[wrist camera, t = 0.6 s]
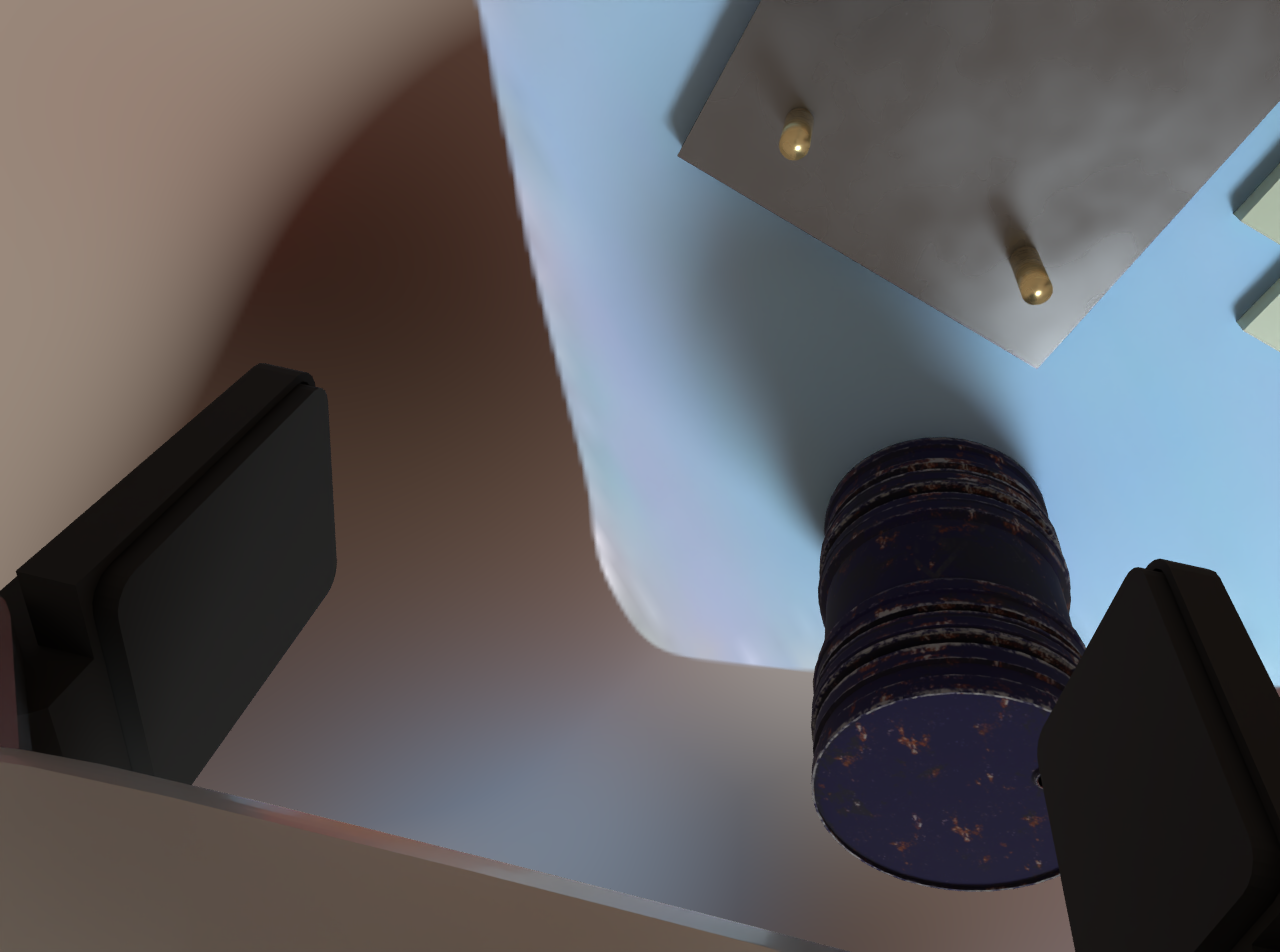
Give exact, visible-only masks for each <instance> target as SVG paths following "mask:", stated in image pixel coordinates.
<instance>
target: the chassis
mask: <svg viewBox="0 0 1280 952" xmlns="http://www.w3.org/2000/svg"><path fill="white" fill-rule="evenodd" d="M1279 101H1280V0H761V2H760V3H759V5H758V7H757V9H756V11H755V13H754V15H753V16H752V18H751V20H750V22H749V24H748V26H747V28H746V29H745V31H744V33H743V35H742V37H741V39H740V41H739V42H738V44H737V46H736V48H735V50H734V52H733V54H732V55H731V57H730V59H729V61H728V63H727V65H726V67H725V68H724V70H723V72H722V74H721V76H720V78H719V80H718V81H717V83H716V85H715V87H714V89H713V91H712V92H711V94H710V96H709V98H708V100H707V102H706V104H705V105H704V107H703V109H702V111H701V113H700V115H699V117H698V118H697V120H696V122H695V124H694V126H693V128H692V130H691V131H690V133H689V135H688V137H687V139H686V141H685V143H684V144H683V146H682V148H681V150H680V152H679V154H678V157H680V158H682V159H683V160H685V161H687V162H688V163H690V164H692V165H693V166H695V167H697V168H698V169H700V170H702V171H704V172H705V173H707V174H709V175H710V176H712V177H714V178H715V179H717V180H719V181H720V182H722V183H724V184H725V185H727V186H729V187H731V188H732V189H734V190H736V191H737V192H739V193H741V194H742V195H744V196H746V197H747V198H749V199H751V200H753V201H754V202H756V203H758V204H759V205H761V206H763V207H764V208H766V209H768V210H769V211H771V212H773V213H774V214H776V215H778V216H780V217H781V218H783V219H785V220H786V221H788V222H790V223H791V224H793V225H795V226H796V227H798V228H800V229H801V230H803V231H805V232H807V233H808V234H810V235H812V236H813V237H815V238H817V239H818V240H820V241H822V242H823V243H825V244H827V245H828V246H830V247H832V248H834V249H835V250H837V251H839V252H840V253H842V254H844V255H845V256H847V257H849V258H850V259H852V260H854V261H855V262H857V263H859V264H861V265H862V266H864V267H866V268H867V269H869V270H871V271H872V272H874V273H876V274H877V275H879V276H881V277H882V278H884V279H886V280H888V281H889V282H891V283H893V284H894V285H896V286H898V287H899V288H901V289H903V290H904V291H906V292H908V293H909V294H911V295H913V296H915V297H916V298H918V299H920V300H921V301H923V302H925V303H926V304H928V305H930V306H931V307H933V308H935V309H936V310H938V311H940V312H942V313H943V314H945V315H947V316H948V317H950V318H952V319H953V320H955V321H957V322H958V323H960V324H962V325H963V326H965V327H967V328H969V329H970V330H972V331H974V332H975V333H977V334H979V335H980V336H982V337H984V338H985V339H987V340H989V341H990V342H992V343H994V344H996V345H997V346H999V347H1001V348H1002V349H1004V350H1006V351H1007V352H1009V353H1011V354H1012V355H1014V356H1016V357H1017V358H1019V359H1021V360H1023V361H1024V362H1026V363H1028V364H1029V365H1031V366H1033V367H1034V368H1036V369H1038V367H1039V366H1040V365H1041V364H1042V363H1043V362H1044V361H1045V360H1046V359H1047V358H1048V356H1049V355H1050V354H1051V353H1052V352H1053V351H1054V350H1055V349H1056V348H1057V346H1058V345H1059V344H1060V343H1061V342H1062V341H1063V340H1064V339H1065V338H1066V337H1067V335H1068V334H1069V333H1070V332H1071V331H1072V330H1073V329H1074V328H1075V327H1076V325H1077V324H1078V323H1079V322H1080V321H1081V320H1082V319H1083V318H1084V317H1085V316H1086V314H1087V313H1088V312H1089V311H1090V310H1091V309H1092V308H1093V307H1094V306H1095V304H1096V303H1097V302H1098V301H1099V300H1100V299H1101V298H1102V297H1103V296H1104V295H1105V293H1106V292H1107V291H1108V290H1109V289H1110V288H1111V287H1112V286H1113V285H1114V283H1115V282H1116V281H1117V280H1118V279H1119V278H1120V277H1121V276H1122V275H1123V274H1124V272H1125V271H1126V270H1127V269H1128V268H1129V267H1130V266H1131V265H1132V264H1133V262H1134V261H1135V260H1136V259H1137V258H1138V257H1139V256H1140V255H1141V254H1142V253H1143V251H1144V250H1145V249H1146V248H1147V247H1148V246H1149V245H1150V244H1151V243H1152V241H1153V240H1154V239H1155V238H1156V237H1157V236H1158V235H1159V234H1160V233H1161V231H1162V230H1163V229H1164V228H1165V227H1166V226H1167V225H1168V224H1169V223H1170V222H1171V220H1172V219H1173V218H1174V217H1175V216H1176V215H1177V214H1178V213H1179V212H1180V210H1181V209H1182V208H1183V207H1184V206H1185V205H1186V204H1187V203H1188V202H1189V201H1190V199H1191V198H1192V197H1193V196H1194V195H1195V194H1196V193H1197V192H1198V191H1199V189H1200V188H1201V187H1202V186H1203V185H1204V184H1205V183H1206V182H1207V181H1208V180H1209V178H1210V177H1211V176H1212V175H1213V174H1214V173H1215V172H1216V171H1217V170H1218V168H1219V167H1220V166H1221V165H1222V164H1223V163H1224V162H1225V161H1226V160H1227V159H1228V157H1229V156H1230V155H1231V154H1232V153H1233V152H1234V151H1235V150H1236V149H1237V147H1238V146H1239V145H1240V144H1241V143H1242V142H1243V141H1244V140H1245V139H1246V138H1247V136H1248V135H1249V134H1250V133H1251V132H1252V131H1253V130H1254V129H1255V128H1256V126H1257V125H1258V124H1259V123H1260V122H1261V121H1262V120H1263V119H1264V118H1265V117H1266V115H1267V114H1268V113H1269V112H1270V111H1271V110H1272V109H1273V108H1274V107H1275V105H1276V104H1277V103H1278V102H1279Z"/></svg>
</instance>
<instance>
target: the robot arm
mask: <svg viewBox="0 0 1280 952" xmlns="http://www.w3.org/2000/svg"><path fill="white" fill-rule="evenodd" d="M328 413H329V412H328V399H327V394H326V392H325V390H323V389H322V388H318V387H315V382H314V380H313V377H312V376H311V375H310V374H309V373H307V372H302V371H298V370H293V369H288V368H284V367H279V366H274V365H270V364H266V363H265V364H264V363H259V364H258V365H256V366H254V367H253V368H252V369H250V370H249V371H248V372H247V373H246V374H245V375H244V376H242V377H241V378H240V379H239V380H238V381H237V382H235V383H234V384H233V385H232V386H231V387H229V388H228V389H227V390H226V391H225V392H224V393H223V394H221V395H220V396H219V397H218V398H217V399H216V400H214V401H213V402H212V403H211V404H210V405H209V406H207V407H206V408H205V409H204V410H203V411H202V412H200V413H199V414H198V415H197V416H196V417H195V418H193V419H192V420H191V421H190V422H189V423H188V424H187V425H185V426H184V427H183V428H182V429H181V430H180V431H178V432H177V433H176V434H175V435H174V436H172V437H171V438H170V439H169V440H168V441H167V442H165V443H164V444H163V445H162V446H161V447H160V448H159V449H157V450H156V451H155V452H154V453H153V454H152V455H150V456H149V457H148V458H147V459H146V460H145V461H143V462H142V463H141V464H140V465H139V466H138V467H136V468H135V469H134V470H133V471H132V472H131V473H130V474H128V475H127V476H126V477H125V478H124V479H122V480H121V481H120V482H119V483H118V484H117V485H115V486H114V487H113V488H112V489H111V490H110V491H108V492H107V493H106V494H105V495H104V496H103V497H101V498H100V499H99V500H98V501H97V502H96V503H95V504H93V505H92V506H91V507H90V508H89V509H88V510H86V511H85V513H83V514H82V515H81V516H79V517H78V518H77V519H76V520H75V521H74V522H72V523H71V524H70V525H69V526H68V527H67V528H66V529H64V530H63V531H62V532H61V533H60V534H59V535H58V536H56V537H55V538H54V539H53V540H51V541H50V542H49V543H48V544H47V545H46V546H45V547H43V548H42V549H41V550H40V551H39V552H38V553H36V554H35V555H34V556H33V557H32V558H31V559H29V560H28V561H27V562H26V563H25V564H24V565H22V566H21V567H20V568H19V569H18V570H17V571H16V573H17V577H16V578H14V579H13V580H12V581H11V582H10V583H9V584H8V585H6V586H5V587H4V588H3V589H2V590H1V591H0V952H849V951H845V950H841V949H838V948H834V947H830V946H826V945H822V944H819V943H815V942H811V941H807V940H803V939H799V938H795V937H792V936H788V935H784V934H780V933H776V932H773V931H769V930H765V929H761V928H757V927H753V926H749V925H746V924H742V923H738V922H734V921H730V920H726V919H722V918H718V917H714V916H710V915H707V914H703V913H699V912H695V911H691V910H687V909H683V908H679V907H676V906H672V905H667V904H664V903H660V902H656V901H652V900H648V899H644V898H641V897H637V896H633V895H629V894H625V893H621V892H617V891H613V890H609V889H605V888H601V887H597V886H594V885H590V884H586V883H582V882H578V881H574V880H570V879H566V878H562V877H558V876H554V875H551V874H546V873H543V872H539V871H535V870H531V869H527V868H523V867H519V866H515V865H511V864H507V863H503V862H500V861H496V860H491V859H488V858H484V857H480V856H476V855H472V854H468V853H464V852H460V851H456V850H452V849H448V848H443V847H440V846H436V845H432V844H428V843H424V842H420V841H416V840H412V839H408V838H404V837H400V836H396V835H391V834H388V833H384V832H380V831H376V830H372V829H368V828H364V827H360V826H356V825H352V824H348V823H344V822H340V821H336V820H332V819H328V818H324V817H320V816H316V815H312V814H308V813H304V812H300V811H296V810H292V809H288V808H284V807H280V806H276V805H272V804H268V803H264V802H260V801H256V800H252V799H248V798H244V797H240V796H235V795H231V794H227V793H223V792H218V791H214V790H210V789H205V788H201V787H197V786H193V785H192V783H193V782H194V781H195V779H196V778H197V777H198V775H199V774H200V772H201V771H202V770H203V768H204V767H205V765H206V764H207V762H208V761H209V759H210V758H211V757H212V755H213V754H214V753H215V751H216V750H217V748H218V747H219V746H220V744H221V743H222V741H223V740H224V739H225V737H226V736H227V734H228V733H229V731H230V730H231V729H232V727H233V726H234V724H235V723H236V721H237V720H238V719H239V717H240V716H241V715H242V713H243V712H244V710H245V709H246V708H247V706H248V705H249V703H250V702H251V701H252V699H253V698H254V696H255V695H256V693H257V692H258V691H259V689H260V688H261V686H262V685H263V684H264V682H265V681H266V679H267V678H268V677H269V675H270V674H271V672H272V671H273V669H274V668H275V667H276V665H277V664H278V662H279V661H280V660H281V658H282V657H283V655H284V654H285V653H286V651H287V650H288V648H289V647H290V646H291V644H292V643H293V641H294V640H295V639H296V637H297V636H298V634H299V633H300V632H301V630H302V628H303V627H304V626H305V624H306V623H307V622H308V620H309V619H310V617H311V616H312V615H313V613H314V612H315V610H316V609H317V608H318V606H319V605H320V603H321V602H322V600H323V599H324V598H325V596H326V595H327V593H328V592H329V590H330V588H331V586H332V583H333V580H334V577H335V573H336V565H337V564H336V563H337V559H336V541H335V523H334V504H333V486H332V468H331V448H330V431H329V414H328ZM1037 759H1038V766H1039V771H1040V776H1041V781H1042V786H1043V791H1044V796H1045V801H1046V806H1047V811H1048V816H1049V821H1050V826H1051V831H1052V836H1053V841H1054V846H1055V851H1056V856H1057V861H1058V866H1059V871H1060V876H1061V881H1062V886H1063V891H1064V896H1065V901H1066V906H1067V912H1068V917H1069V921H1070V926H1071V931H1072V936H1073V942H1074V947H1075V952H1280V697H1279V695H1278V693H1277V692H1276V689H1275V687H1274V685H1273V683H1272V681H1271V679H1270V677H1269V675H1268V673H1267V671H1266V669H1265V667H1264V665H1263V663H1262V661H1261V659H1260V657H1259V655H1258V653H1257V651H1256V649H1255V647H1254V645H1253V643H1252V641H1251V639H1250V637H1249V635H1248V633H1247V631H1246V629H1245V627H1244V625H1243V623H1242V621H1241V619H1240V617H1239V615H1238V613H1237V611H1236V609H1235V607H1234V605H1233V603H1232V601H1231V599H1230V597H1229V595H1228V593H1227V591H1226V589H1225V587H1224V585H1223V583H1222V581H1221V579H1220V577H1219V576H1218V575H1217V573H1216V572H1214V571H1212V570H1209V569H1205V568H1200V567H1196V566H1191V565H1187V564H1182V563H1177V562H1173V561H1168V560H1164V559H1157V560H1154V561H1152V562H1151V563H1150V564H1149V565H1148V566H1147V567H1146V569H1144V568H1139V567H1137V568H1133V569H1132V570H1131V571H1130V572H1129V573H1128V574H1127V576H1126V577H1125V579H1124V581H1123V583H1122V585H1121V586H1120V588H1119V590H1118V592H1117V594H1116V595H1115V597H1114V599H1113V601H1112V603H1111V605H1110V606H1109V608H1108V610H1107V612H1106V614H1105V615H1104V617H1103V619H1102V621H1101V623H1100V624H1099V626H1098V628H1097V630H1096V632H1095V634H1094V635H1093V637H1092V639H1091V641H1090V643H1089V644H1088V646H1087V648H1086V650H1085V652H1084V653H1083V655H1082V657H1081V659H1080V661H1079V663H1078V664H1077V666H1076V668H1075V670H1074V672H1073V673H1072V675H1071V677H1070V679H1069V681H1068V683H1067V684H1066V686H1065V688H1064V690H1063V692H1062V693H1061V695H1060V697H1059V699H1058V701H1057V702H1056V704H1055V706H1054V708H1053V710H1052V712H1051V713H1050V715H1049V717H1048V719H1047V721H1046V722H1045V724H1044V726H1043V728H1042V730H1041V733H1040V736H1039V740H1038V747H1037Z"/></svg>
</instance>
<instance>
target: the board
mask: <svg viewBox="0 0 1280 952" xmlns="http://www.w3.org/2000/svg"><path fill="white" fill-rule="evenodd" d="M1234 215H1235V216H1236V217H1237V218H1238V219H1239V220H1240V221H1241V222H1243V223H1244V224H1246V225H1248V226H1249V227H1251V228H1253V229H1255V230H1256V231H1258V232H1260V233H1261V234H1263V235H1265V236H1266V237H1268V238H1270V239H1271V240H1273V241H1275V242H1276V243H1278V244H1280V163H1279V164H1278V166H1277V167H1276V168H1275V169H1274V170H1273V171H1272V172H1271V173H1270V174H1269V175H1268V176H1267V178H1266V179H1265V180H1264V181H1263V182H1262V183H1261V184H1260V185H1259V186H1258V187H1257V189H1256V190H1255V191H1254V192H1253V193H1252V194H1251V195H1250V196H1249V197H1248V198H1247V200H1246V201H1245V202H1244V203H1243V204H1242V205H1241V206H1240V207H1239V208H1238V209H1237V211H1236V212H1235V213H1234ZM1237 323H1238V325H1239V326H1240V327H1241V328H1242V330H1243V331H1245V332H1246V333H1248V334H1250V335H1252V336H1253V337H1255V338H1257V339H1258V340H1260V341H1262V342H1264V343H1265V344H1267V345H1269V346H1270V347H1272V348H1274V349H1276V350H1277V351H1279V352H1280V278H1279V279H1278V280H1277V281H1276V282H1275V283H1274V284H1273V285H1272V286H1271V287H1270V288H1269V289H1268V290H1267V291H1266V292H1265V293H1264V294H1263V295H1262V296H1261V297H1260V298H1259V299H1258V300H1257V302H1256V303H1255V304H1254V305H1253V306H1252V307H1251V308H1250V309H1249V310H1248V311H1247V312H1246V313H1245V314H1244V315H1243V316H1242V317H1241V318H1240V319H1239V320H1238V321H1237Z"/></svg>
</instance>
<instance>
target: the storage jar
mask: <svg viewBox="0 0 1280 952" xmlns="http://www.w3.org/2000/svg"><path fill="white" fill-rule="evenodd" d="M824 532H825V538H824V541H823V543H822V549H821V556H820V571H819V574H820V580H819V586H818V598H819V606H820V613H821V616H822V620H823V624H824V627H825V641H824V643H823V646H822V648H821V651H820V653H819V657H818V661H817V663H816V666H815V671H814V678H813V690H814V697H813V703H812V721H811V728H812V740H813V754H814V758H813V765H812V782H811V785H812V798H813V802H814V805H815V808H816V811H817V814H818V816H819V818H820V819H821V821H822V823H823V825H824V827H825V828H826V829H827V831H828V832H829V833H830V834H831V835H832V837H833V838H834V839H835V840H836V841H837V842H838V843H839V844H840V845H841V846H842V847H844V848H845V849H846V850H847V851H848V852H849V853H850V854H852V855H853V856H855V857H856V858H858V859H859V860H861V861H862V862H864V863H865V864H867V865H869V866H871V867H873V868H875V869H877V870H879V871H881V872H883V873H885V874H888V875H890V876H893V877H896V878H898V879H901V880H904V881H908V882H911V883H915V884H919V885H922V886H927V887H933V888H938V889H944V890H955V891H969V892H976V891H998V890H1007V889H1015V888H1020V887H1025V886H1029V885H1034V884H1038V883H1040V882H1044V881H1047V880H1050V879H1053V878H1056V877H1058V876H1060V871H1059V866H1058V861H1057V856H1056V851H1055V846H1054V841H1053V836H1052V831H1051V826H1050V821H1049V816H1048V811H1047V806H1046V801H1045V796H1044V791H1043V786H1042V781H1041V776H1040V771H1039V766H1038V759H1037V747H1038V740H1039V736H1040V733H1041V730H1042V728H1043V726H1044V724H1045V722H1046V721H1047V719H1048V717H1049V715H1050V713H1051V712H1052V710H1053V708H1054V706H1055V704H1056V702H1057V701H1058V699H1059V697H1060V695H1061V693H1062V692H1063V690H1064V688H1065V686H1066V684H1067V683H1068V681H1069V679H1070V677H1071V675H1072V673H1073V672H1074V670H1075V668H1076V666H1077V664H1078V663H1079V661H1080V659H1081V657H1082V655H1083V653H1084V652H1085V650H1086V647H1085V645H1084V643H1083V642H1082V640H1081V638H1080V637H1079V635H1078V633H1077V632H1076V630H1075V629H1074V628H1073V627H1072V624H1071V620H1070V616H1069V611H1070V603H1071V596H1070V589H1071V588H1070V577H1069V571H1068V568H1067V565H1066V562H1065V559H1064V557H1063V555H1062V551H1061V548H1060V544H1059V541H1058V538H1057V535H1056V532H1055V529H1054V527H1053V525H1052V524H1051V522H1050V520H1049V518H1048V513H1047V509H1046V506H1045V503H1044V500H1043V497H1042V494H1041V492H1040V490H1039V489H1038V487H1037V485H1036V483H1035V482H1034V480H1033V479H1032V478H1031V477H1030V476H1029V474H1028V473H1027V472H1026V471H1025V470H1024V469H1023V468H1022V467H1021V466H1020V465H1018V464H1017V463H1016V462H1015V461H1014V460H1012V459H1011V458H1009V457H1008V456H1006V455H1004V454H1003V453H1001V452H999V451H997V450H995V449H993V448H990V447H988V446H985V445H983V444H980V443H976V442H972V441H967V440H963V439H955V438H945V437H941V438H922V439H916V440H909V441H905V442H902V443H898V444H895V445H892V446H889V447H887V448H885V449H882V450H880V451H878V452H876V453H874V454H872V455H871V456H869V457H867V458H866V459H864V460H863V461H861V462H860V463H859V464H857V465H856V466H855V467H854V468H853V469H852V470H851V471H849V472H848V473H847V475H846V476H845V477H844V478H843V479H842V481H841V482H840V483H839V484H838V486H837V488H836V489H835V491H834V493H833V495H832V496H831V499H830V502H829V505H828V508H827V511H826V518H825V528H824Z"/></svg>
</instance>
